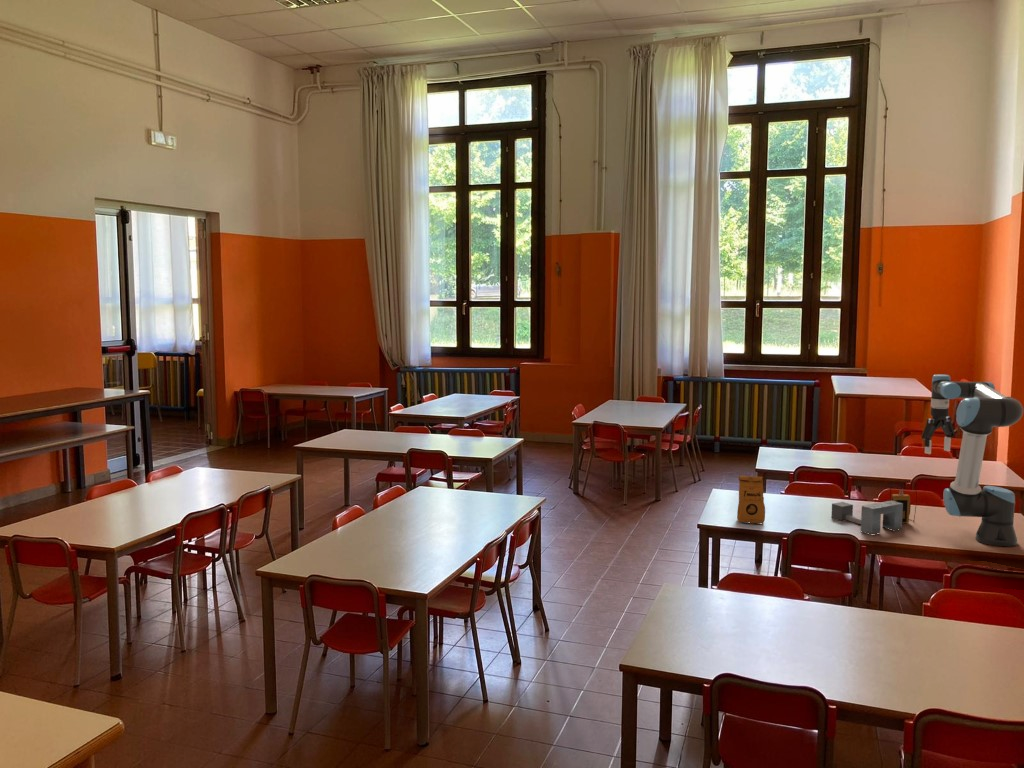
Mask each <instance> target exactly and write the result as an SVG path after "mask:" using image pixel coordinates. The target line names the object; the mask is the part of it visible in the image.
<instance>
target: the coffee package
mask: <svg viewBox="0 0 1024 768" xmlns="http://www.w3.org/2000/svg"><path fill="white" fill-rule="evenodd" d="M763 479H764V478H763V476H752V475H751V476H750V475H749V476H748V475H738V481H739V485H738V503H737V504H738V505H737V513H736V520H737V522H738V523H742V522H750V523H749V524H751V523H763V524H764V522H765V519H766V506H765V502H764V501H765V500H764V499H765V498H764V483H763Z"/></svg>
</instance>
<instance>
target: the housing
mask: <svg viewBox="0 0 1024 768" xmlns="http://www.w3.org/2000/svg"><path fill="white" fill-rule="evenodd" d="M902 514H903V503H899V502H895V501H892V499H891V501H890V500H886V501H882V502H876V503H870V504H864V505H861V517H860V518H861V524H860V532H861V531H862V532H866V533H869V534H877V533H880V534H881V520H882V528H883V527H885V528H889V529H892V530H897V531H899V530H898V529H903V523H902ZM882 515H883V517H882ZM881 518H882V519H881ZM885 528H884V529H885ZM889 529H888V530H889ZM892 530H891V531H892ZM862 532H861V533H862ZM869 534H868V535H869Z"/></svg>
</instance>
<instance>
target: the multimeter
mask: <svg viewBox="0 0 1024 768" xmlns="http://www.w3.org/2000/svg"><path fill="white" fill-rule="evenodd" d="M895 482H896V480H894V481H892V483H891V485H890V489H889V492H890V493H889V501H891V500H892V501H895V502H899V503H903V514H902V524H909V523H910V521H911V519H910V515H911V507H912V506H911V503H912V502H911V496H910V495H909V494H906V493H905V494H904V484H905V483H907V482H911V483H912V484H913V485H914V489H915V490H917V487H916V485H915V483H914V482H913V481H912V480H907V481H904V482H902V484H901V481H900V480H898V482H899V491H898V493H892V486H893V485H894V483H895ZM901 485H902V486H901ZM901 488H902V489H901ZM917 501H918V496H917V491H915V504H917V503H918V502H917ZM916 511H917V506H915V510H914V513H917V512H916ZM915 519H916V514H914V515H913V520H915Z"/></svg>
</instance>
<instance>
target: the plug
mask: <svg viewBox="0 0 1024 768" xmlns="http://www.w3.org/2000/svg"><path fill="white" fill-rule="evenodd" d="M853 510H854V505H853V503H849V502H844V501H839V502H838V501H837V502H832V503H831V516H830V517H831V519H833V518H834V520H836V519H838V520H837V521H840V520H841V521H840V522H844V521H843V520H845V521H850V522H853V523H856V524H859V525H861V517H857V516H855V515H854V514H853Z"/></svg>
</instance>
